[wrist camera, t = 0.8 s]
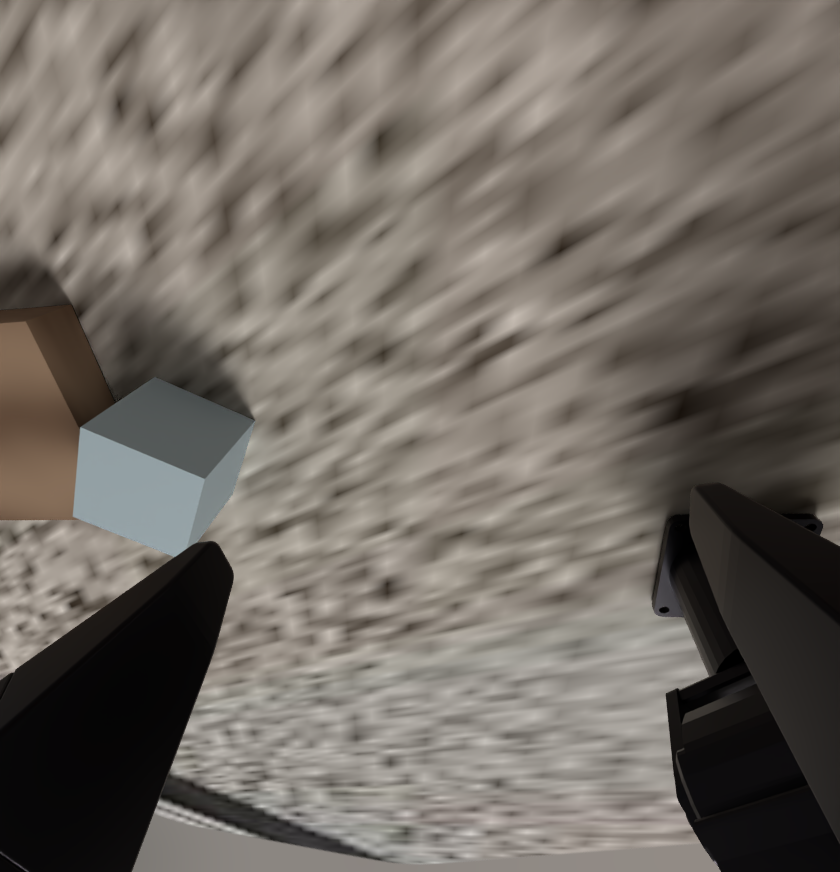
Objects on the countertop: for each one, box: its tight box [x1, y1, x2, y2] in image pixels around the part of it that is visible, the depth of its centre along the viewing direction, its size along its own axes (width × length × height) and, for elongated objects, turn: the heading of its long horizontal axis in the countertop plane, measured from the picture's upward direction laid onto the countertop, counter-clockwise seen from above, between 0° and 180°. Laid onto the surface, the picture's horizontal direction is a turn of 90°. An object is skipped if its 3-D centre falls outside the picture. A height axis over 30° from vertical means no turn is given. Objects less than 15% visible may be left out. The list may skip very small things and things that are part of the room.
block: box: [73, 377, 255, 557], centre depth 23 cm, size 5×5×5 cm
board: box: [0, 305, 115, 520], centre depth 24 cm, size 10×10×2 cm
